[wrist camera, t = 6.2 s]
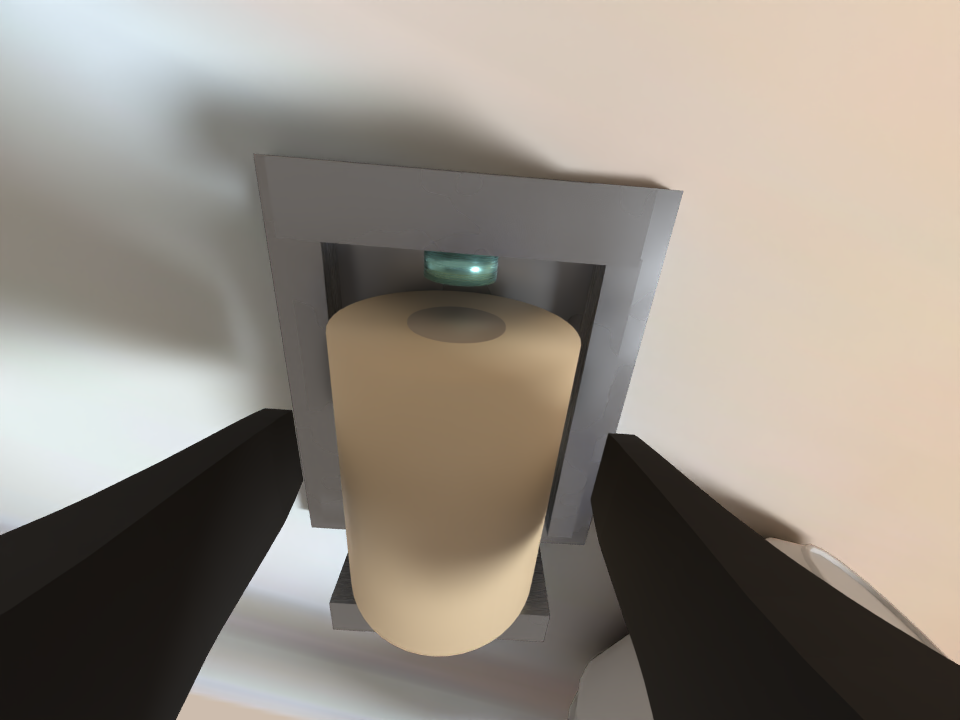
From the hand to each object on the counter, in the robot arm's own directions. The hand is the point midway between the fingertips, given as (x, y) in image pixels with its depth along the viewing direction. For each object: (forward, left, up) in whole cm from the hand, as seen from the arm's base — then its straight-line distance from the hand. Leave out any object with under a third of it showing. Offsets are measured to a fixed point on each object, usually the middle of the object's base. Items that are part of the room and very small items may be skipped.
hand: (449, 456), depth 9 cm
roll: (0, +1, -2) cm, 3 cm away
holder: (0, 0, -3) cm, 3 cm away
